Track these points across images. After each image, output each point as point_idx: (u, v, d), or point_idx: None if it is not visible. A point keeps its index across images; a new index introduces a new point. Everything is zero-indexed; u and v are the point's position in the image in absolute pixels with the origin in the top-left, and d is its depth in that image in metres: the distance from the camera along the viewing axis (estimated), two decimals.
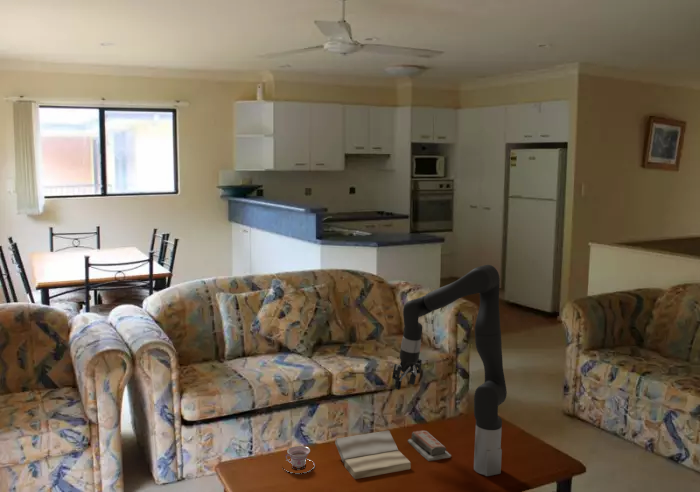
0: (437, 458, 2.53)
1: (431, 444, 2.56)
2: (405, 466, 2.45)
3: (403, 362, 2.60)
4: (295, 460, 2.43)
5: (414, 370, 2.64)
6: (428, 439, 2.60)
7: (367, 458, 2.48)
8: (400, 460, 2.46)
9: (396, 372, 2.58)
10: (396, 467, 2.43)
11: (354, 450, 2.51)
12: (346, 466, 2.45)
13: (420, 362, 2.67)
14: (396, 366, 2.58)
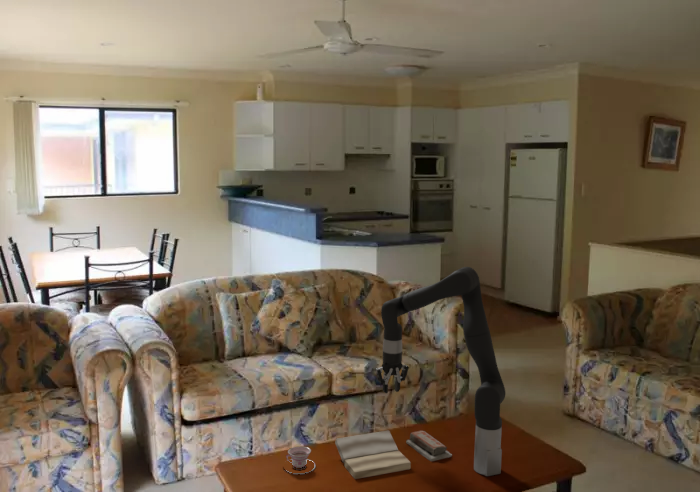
0: (439, 458, 2.53)
1: (432, 444, 2.56)
2: (405, 466, 2.45)
3: (384, 363, 2.60)
4: (296, 460, 2.43)
5: (397, 374, 2.61)
6: (428, 440, 2.60)
7: (367, 458, 2.48)
8: (400, 460, 2.46)
9: (378, 375, 2.60)
10: (396, 467, 2.43)
11: (354, 450, 2.51)
12: (346, 466, 2.45)
13: (406, 369, 2.63)
14: (376, 370, 2.60)
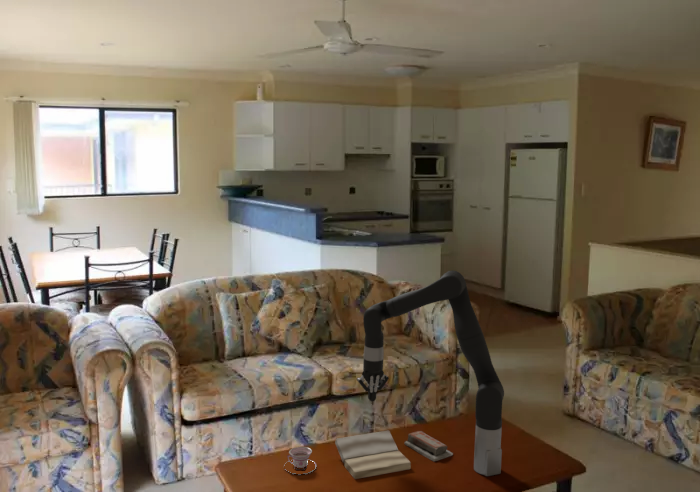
0: (441, 457, 2.54)
1: (433, 444, 2.56)
2: (405, 466, 2.45)
3: (364, 371, 2.54)
4: (297, 461, 2.43)
5: (376, 382, 2.55)
6: (428, 440, 2.60)
7: (367, 458, 2.48)
8: (400, 460, 2.46)
9: (361, 385, 2.54)
10: (396, 467, 2.43)
11: (354, 450, 2.51)
12: (346, 466, 2.45)
13: (386, 379, 2.57)
14: (357, 380, 2.54)
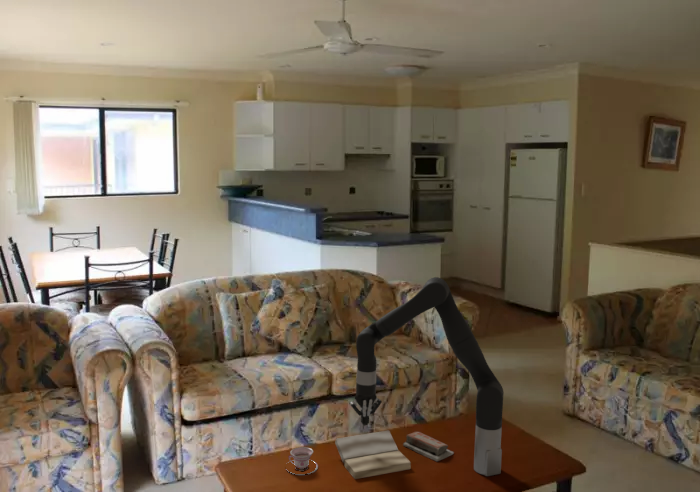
0: (443, 457, 2.54)
1: (434, 444, 2.56)
2: (405, 466, 2.45)
3: (357, 395, 2.52)
4: (298, 461, 2.43)
5: (369, 406, 2.53)
6: (428, 440, 2.60)
7: (367, 458, 2.48)
8: (400, 460, 2.46)
9: (354, 409, 2.52)
10: (396, 467, 2.43)
11: (354, 450, 2.51)
12: (346, 466, 2.45)
13: (379, 403, 2.55)
14: (350, 404, 2.52)
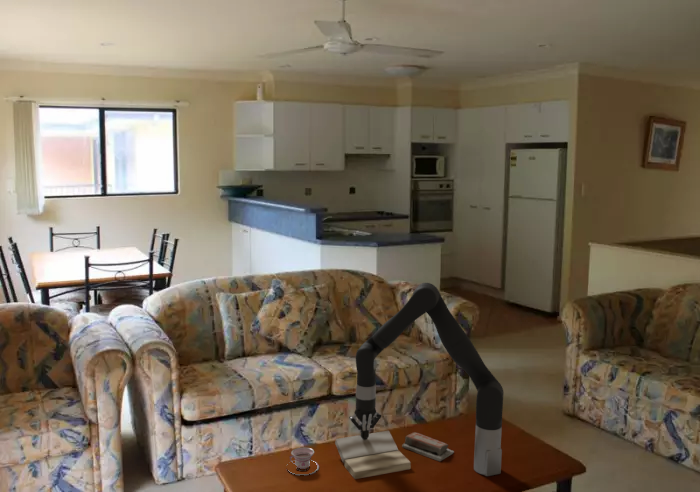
0: (445, 456, 2.55)
1: (436, 444, 2.56)
2: (405, 466, 2.45)
3: (356, 409, 2.53)
4: (299, 461, 2.42)
5: (368, 420, 2.54)
6: (428, 440, 2.60)
7: (367, 458, 2.48)
8: (400, 460, 2.46)
9: (354, 424, 2.53)
10: (396, 467, 2.43)
11: (354, 450, 2.51)
12: (346, 466, 2.45)
13: (379, 417, 2.56)
14: (350, 419, 2.53)
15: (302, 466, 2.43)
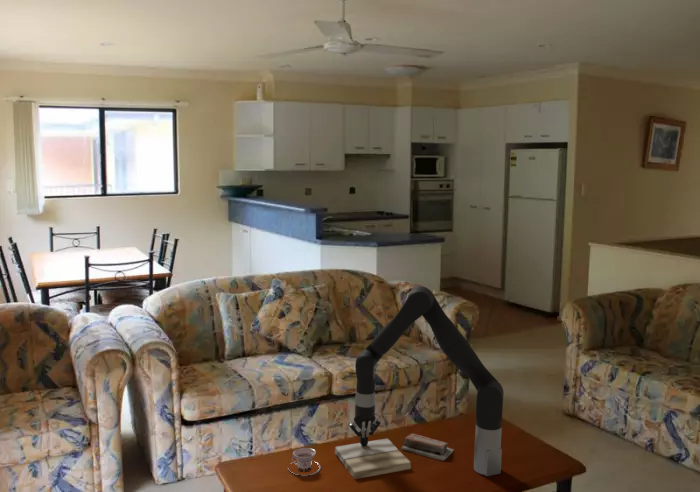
0: (447, 455, 2.55)
1: (437, 444, 2.57)
2: (405, 466, 2.45)
3: (356, 416, 2.54)
4: (301, 462, 2.42)
5: (368, 427, 2.55)
6: (428, 441, 2.59)
7: (367, 458, 2.48)
8: (400, 460, 2.46)
9: (353, 430, 2.54)
10: (396, 467, 2.43)
11: (354, 452, 2.52)
12: (346, 466, 2.45)
13: (378, 424, 2.57)
14: (349, 426, 2.54)
15: (304, 466, 2.42)
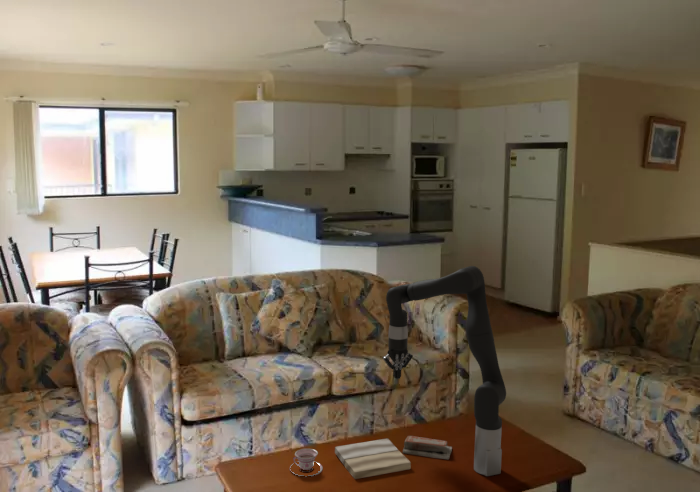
0: None
1: (439, 443, 2.57)
2: (405, 466, 2.45)
3: (390, 349, 2.63)
4: (303, 463, 2.41)
5: (401, 360, 2.64)
6: (429, 441, 2.59)
7: (367, 458, 2.48)
8: (400, 460, 2.46)
9: (387, 363, 2.64)
10: (396, 467, 2.43)
11: (354, 452, 2.52)
12: (346, 466, 2.45)
13: (410, 357, 2.67)
14: (383, 359, 2.64)
15: (306, 467, 2.42)
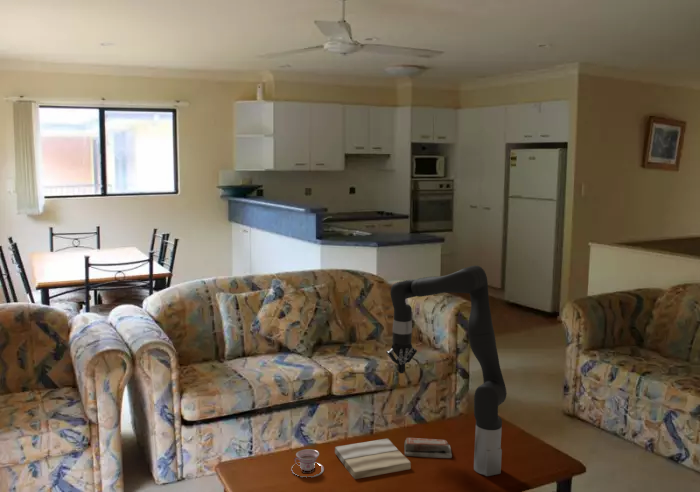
0: None
1: (440, 443, 2.58)
2: (405, 466, 2.45)
3: (394, 344, 2.65)
4: (304, 463, 2.41)
5: (405, 355, 2.66)
6: (429, 441, 2.59)
7: (367, 458, 2.48)
8: (400, 460, 2.46)
9: (391, 358, 2.65)
10: (396, 467, 2.43)
11: (354, 452, 2.52)
12: (346, 466, 2.45)
13: (414, 352, 2.68)
14: (387, 353, 2.65)
15: (307, 468, 2.41)
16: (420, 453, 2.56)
